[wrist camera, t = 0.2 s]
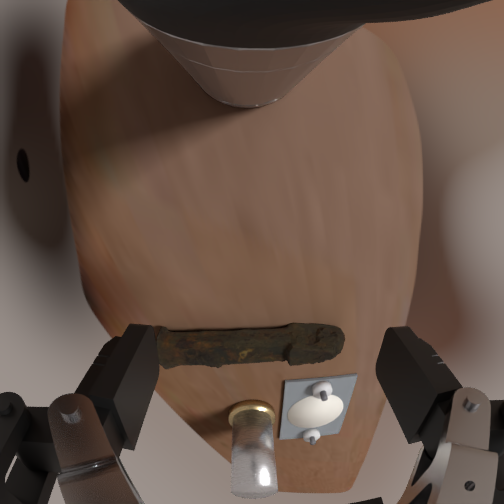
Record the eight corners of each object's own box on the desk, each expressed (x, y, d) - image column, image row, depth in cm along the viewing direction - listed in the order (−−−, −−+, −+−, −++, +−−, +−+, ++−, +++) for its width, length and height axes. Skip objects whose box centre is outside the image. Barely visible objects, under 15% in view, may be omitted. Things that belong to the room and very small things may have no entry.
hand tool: (166, 350, 32) (158, 379, 27) (160, 321, 30) (149, 349, 26) (335, 345, 32) (346, 372, 28) (340, 316, 31) (353, 342, 26)
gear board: (285, 380, 33) (287, 395, 31) (356, 373, 34) (362, 387, 31) (279, 437, 38) (280, 450, 36) (338, 431, 38) (341, 443, 36)
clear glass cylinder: (227, 400, 35) (224, 481, 23) (275, 398, 35) (284, 480, 24) (230, 426, 37) (228, 499, 26) (273, 425, 37) (280, 498, 26)
